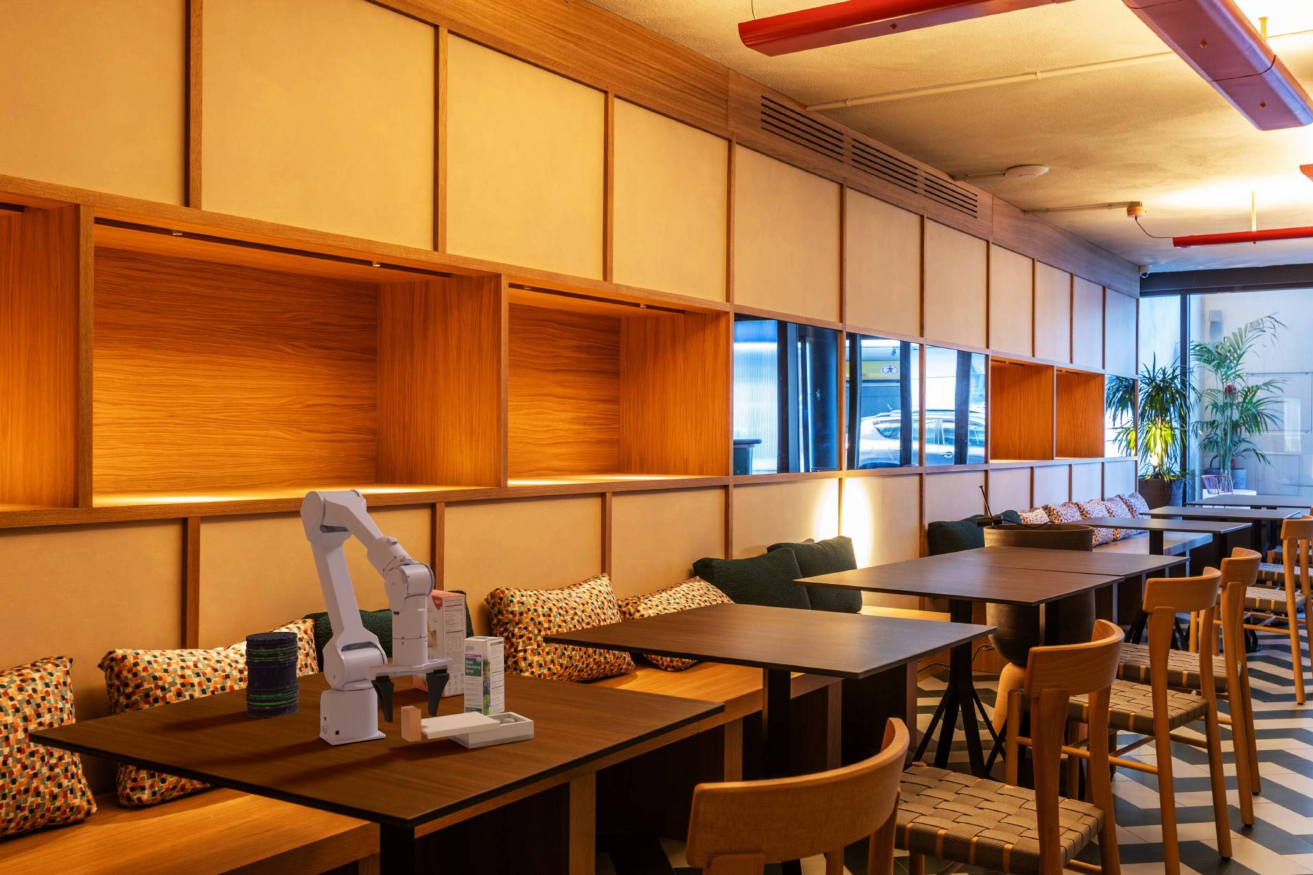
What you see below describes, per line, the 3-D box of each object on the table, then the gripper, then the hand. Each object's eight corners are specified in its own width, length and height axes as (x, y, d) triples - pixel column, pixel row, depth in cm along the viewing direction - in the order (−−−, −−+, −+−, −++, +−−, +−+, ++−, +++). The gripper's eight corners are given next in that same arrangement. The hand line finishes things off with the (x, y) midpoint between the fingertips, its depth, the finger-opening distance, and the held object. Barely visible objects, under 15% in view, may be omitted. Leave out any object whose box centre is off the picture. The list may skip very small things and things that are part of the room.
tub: (469, 748, 191) (468, 730, 191) (448, 738, 199) (448, 720, 199) (533, 738, 197) (533, 720, 198) (511, 728, 205) (511, 711, 205)
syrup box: (463, 715, 217) (461, 638, 217) (481, 709, 222) (480, 634, 222) (487, 718, 214) (486, 640, 214) (505, 711, 219) (504, 636, 220)
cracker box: (410, 688, 244) (409, 590, 245) (436, 684, 248) (434, 588, 248) (442, 698, 233) (440, 595, 234) (468, 694, 237) (466, 593, 237)
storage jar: (235, 716, 220) (234, 638, 220) (264, 705, 229) (263, 631, 230) (281, 718, 217) (280, 639, 218) (308, 707, 227) (308, 631, 227)
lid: (416, 745, 186) (416, 714, 186) (395, 733, 194) (394, 703, 194) (500, 732, 193) (499, 703, 194) (476, 721, 202) (475, 693, 202)
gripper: (375, 643, 184) (376, 728, 183) (459, 635, 191) (460, 716, 191) (361, 638, 190) (362, 720, 189) (444, 630, 197) (445, 709, 197)
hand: (410, 718), depth 191 cm, fingers open, 7 cm apart
